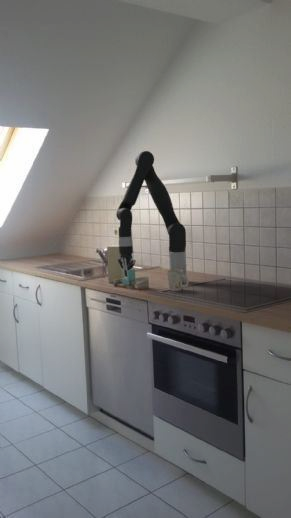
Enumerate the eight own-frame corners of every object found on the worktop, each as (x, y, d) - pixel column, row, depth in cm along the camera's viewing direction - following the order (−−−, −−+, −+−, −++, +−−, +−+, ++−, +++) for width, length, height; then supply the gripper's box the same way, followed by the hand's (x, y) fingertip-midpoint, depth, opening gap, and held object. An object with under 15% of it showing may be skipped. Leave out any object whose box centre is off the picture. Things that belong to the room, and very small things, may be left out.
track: (148, 287, 273) (148, 276, 272) (137, 290, 267) (137, 278, 267) (124, 284, 287) (124, 273, 287) (113, 286, 282) (113, 275, 281)
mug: (174, 288, 269) (173, 269, 267) (193, 290, 261) (193, 270, 259) (164, 290, 262) (163, 271, 261) (184, 292, 254) (183, 273, 253)
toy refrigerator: (125, 280, 299) (123, 245, 296) (121, 283, 292) (119, 246, 289) (112, 280, 301) (110, 245, 298) (108, 282, 294) (106, 246, 291)
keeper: (135, 283, 278) (134, 269, 277) (128, 285, 275) (127, 270, 274) (129, 282, 282) (128, 268, 281) (122, 284, 278) (121, 269, 277)
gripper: (138, 244, 274) (140, 276, 276) (123, 243, 284) (124, 274, 286) (128, 246, 269) (129, 278, 271) (112, 245, 279) (114, 276, 281)
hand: (127, 276), depth 279 cm, fingers closed
